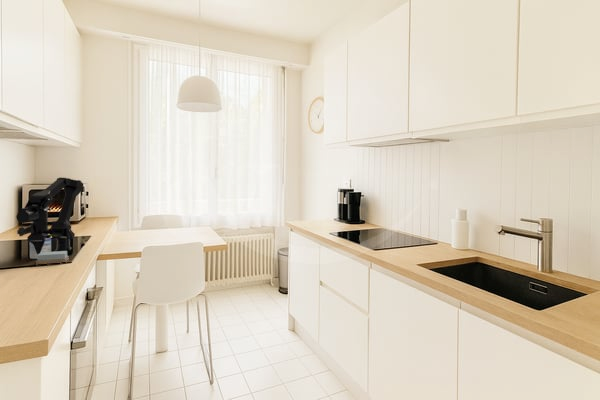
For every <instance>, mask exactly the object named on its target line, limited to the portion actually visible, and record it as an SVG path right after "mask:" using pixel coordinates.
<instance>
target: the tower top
mask: <svg viewBox="0 0 600 400" xmlns="http://www.w3.org/2000/svg"><path fill="white" fill-rule="evenodd" d="M67 256H68V251H55V250H54V251H51V252H41V253H40V254H39V255H38V259H37V260H38V261H41V260H57V259H65V258H66V257H67Z"/></svg>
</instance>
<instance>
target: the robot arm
mask: <svg viewBox="0 0 600 400" xmlns="http://www.w3.org/2000/svg"><path fill="white" fill-rule="evenodd" d="M83 188H84V183H83V182H82V180H80V179H73V178H72V179H71V178H69V177H62V176H61V177H57V179H55V181H53V182H51V184H50V185H48V186H47V187H46V188H45V189H43V190H41V191H38V192H35V193H33V194H31V195H30V196H29V199H28V200H27V202H26V204H25V206H24V207H21V208H20V211H19V212H17V214H16V216H15V217H16V220H17V221H18V222H19V223H20V224H25V223H30V225H29V226H22V227H21V226H20V227H18V229H17V230H16V231H17V232H16V234H18V235H19V237H23V236H25V235H28V234H29V235H28V236H27V237H26V239H27V242H31V243H32V244H33V245H34V247H35V250H36V253H37V254H40V252H41V250H42V248H43V245H44V243H45V240H46V238H50V239H51V240H56V249H55V250H54V252H55V251H67V252H68V251H71V250H72V247H71V240H73V239H75V233H74V231H73V230H72V224H71V216H72V214H73V209H74V206H75V202H76V199H77V197H78V196H79V194H81V192H82V190H83ZM61 190H63V191H64V193H65V195H64V198H63V201H62V204H61V205H62V206H61V209H60V211H59V215H58V219H57V220H56V221H55V220H54V221H52V222H51V225H50V228H49V225H48V224H50V222H49V220H48V218H49V216H48V215H49V213H48V211H51V209H52V208H50V207H49V205H50V204H51V203H52V202H53V198H54V196H56V195H57V194H58V193H59V192H61Z"/></svg>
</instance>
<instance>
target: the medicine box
mask: <svg viewBox="0 0 600 400" xmlns="http://www.w3.org/2000/svg"><path fill="white" fill-rule="evenodd" d="M28 242H29V241H28ZM41 252H52V238H51V237H50V238H46V240H45V243H44V245H43V248H42V250H41ZM41 252H40V253H41ZM38 255H39V254H37V253H36V250H35V247H34V245H33V244H32V243H31V242H29V259H35V260H38Z"/></svg>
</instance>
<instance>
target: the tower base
mask: <svg viewBox="0 0 600 400" xmlns="http://www.w3.org/2000/svg"><path fill="white" fill-rule="evenodd" d="M67 260H68V261H69V255H67V257H66V258H65V259H57V260H41V261H38V259H36V261H35V265H36V264H47V263H60V264H62V263H61V262H66V261H67ZM68 261H67V262H68ZM67 262H66V263H67ZM47 265H48V264H47Z"/></svg>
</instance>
